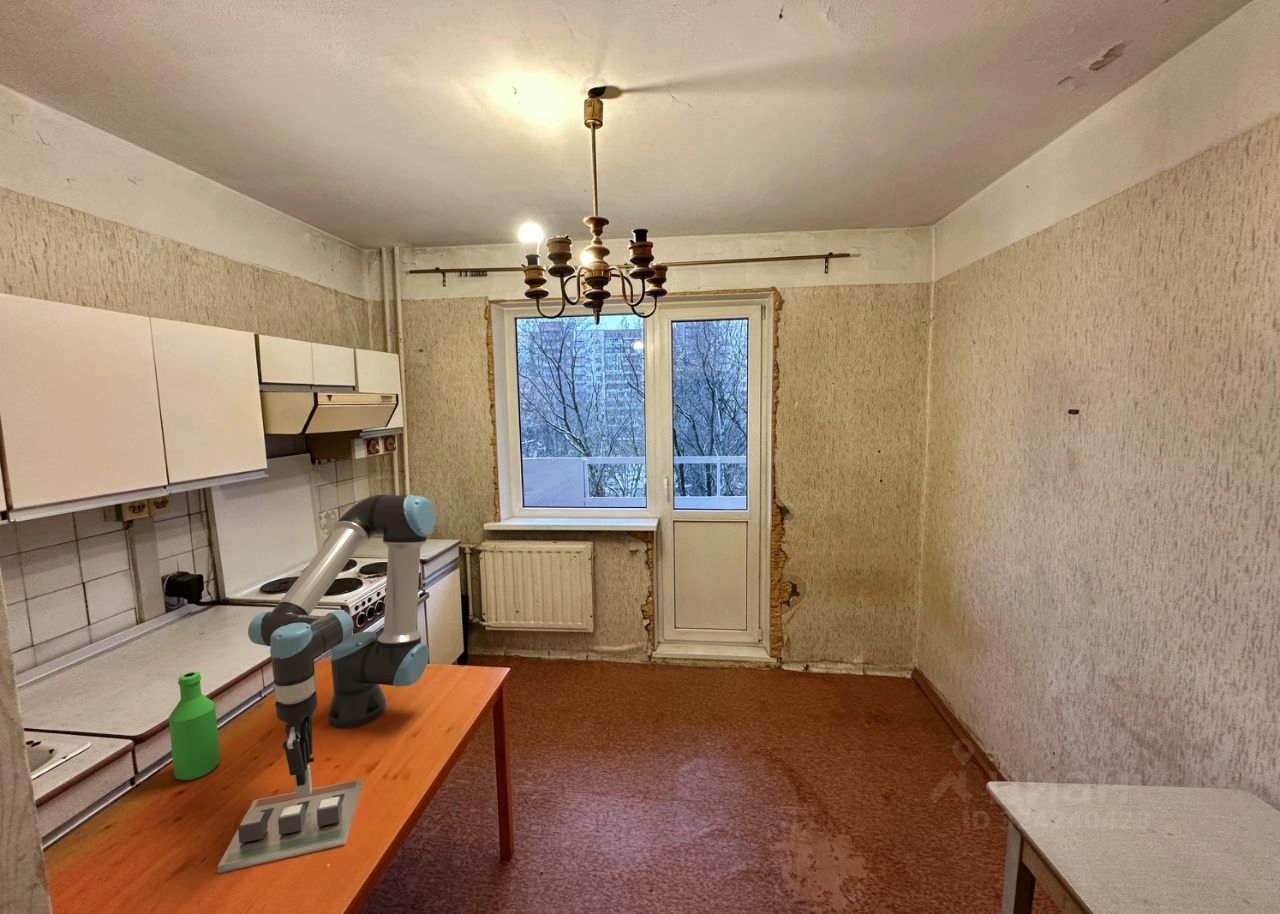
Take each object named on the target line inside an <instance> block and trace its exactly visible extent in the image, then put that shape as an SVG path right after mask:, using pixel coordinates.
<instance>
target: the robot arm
mask: <svg viewBox="0 0 1280 914" xmlns="http://www.w3.org/2000/svg"><path fill="white" fill-rule="evenodd" d="M436 523H437V516H436V509H435V508H434V505H433V504H432V502H431V501H430V500H429V499H428V498H427V497H425V496H421V495H412V494H410V495H405V494H404V495H399V494H396V495H395V494H391V495H390V494H373V495H371V496H368V497H365V498H364V499H362V500H361V501H359V502H356V503H355V504H354V505H353V506H351V507H350V508H349V509H348V510H347V511H345V513H344V514H342V516H341V517H340V518H339V519H338V521H337V522H336V523H335V525H334V527H333V529H334V532H333V533H331V536H330V537H329V538H328V539H327V541H326V542H325V543H324V545H323V546H322V547H321V548H320V550H319V551H318V552H317V554H316V555H315V556H314V558H313V559H311V561H310V562H309V564H308V565H307V566H306V568H305V569H304V570H303V571H302V572H301V574H300V575H299V577H298V578H297V579H296V580H295V582H294V583H293V584H291V585H292V586H291V587H290V588H289V589H288V590H287V592H286V593H285V595H284V596H283V597H282V598H281V600H279V602H278V603H277V604H276V606H275V607H274V608H273V610H272V611H266V612H265V611H264V612H261V613H259V614H258V615H256V616H255V617H253V619H252V620H251V621H250V623H249V624H248V625H249V626H248V630H247V635H248V638H249V640H250V641H251V643H253V644H256V645H260V646H266V647H270V650H269V653H270V656H271V666H272V674H273V675H272V677H273V683H272V685H271V689H274V697H275V698H274V699H275V713H276V714H275V715H276V718H277V719H278V720H279V721H281V722H284V723H286V725H285V727H284V728H285V734H286V735H287V736H286V737H287V738H286V739H287V740H285V741H283V743H282V748H283V750H284V751H285V755H286V761H287V765H288V771H289V772H288V773H289V775H290V776H294V785H295V786H294V787H295V792H296V798H298V797H303V796H308V795H310V794H311V792H312V789H313V785H312V784H313V783H312V773H311V763H314V761H315V757H314V756H313V757H311V756H312V754H314V753H313V715H314V714H313V713H314V712H315V711H316V709H317V708H318V697H317V691H316V690H317V685H316V684H317V683H316V682H317V681H316V671H315V670H316V669H315V660H316V659H318V658H319V657H321V656H323V654H325V653H327V652H329V651H330V652H331V656H330V662H331V663H330V665H331V677H332V686H333V687H332V688H333V689H332V690H333V691H332V692H333V694H332V697H331V700H330V703H329V707H328V711H327V721H328V724H329V725H330V726H331V727H333V728H338V729H349V728H350V729H351V728H355V727H360V726H363V725H366V724H369V723H371V722H372V721H374V720H376V719H378V718H379V717H381V715H383V714H384V713H385V711H386V710H387V709H386V708H387V699H386V696H385V694H384V692H383V690H382V687H381V685H382V686H383V685H385V686H392V687H393V686H394V687H397V688H398V687H410V686H413V685H414V684H416V683H417V682H418V681H419V680H420V679H421V677H422V675H423V674H424V672H425V671H426V668H427V665H428V662H429V658H430V650H429V647H428V645H427V644H425V643H424V642H422V634H421V632H419V630H417V619H418V601H419V596H418V595H419V584H420V583H419V579H420V564H421V563H420V561H421V560H420V559H421V548H422V546H423V545H424V544H426V542H427V537H429V536H430V535H431V534H433V533H434V529H435V528H436V525H437V524H436ZM375 535H382V543H383V544H384V545H385V546H386V547H387V548H388V549H387V550H388V551H387V564H386V565H387V566H386V582H385V583H386V584H385V598H384V599H385V600H384V617H383V618H384V619H383V621H384V623H383V631H382V633H381V634H380V635H379V636H378V637H377V635H376V633H375V632H374V631H369V630H368V631H362V632H361V631H360V632H356V633H353V631H354V626H355V625H354V620H353V618H352V616H351V615H350V614H349V613H348V612H346V611H345V610H341V609H337V610H334V611H331V612H328V613H327V614H326V615H325V614H324V615H313V614H312V612H313V611H314V609H315V608H316V607H317V606H318V604H319V602H320V601H321V600H322V598H323V597H324V595H325V594H326V593H327V591H328V590H329V588H330V587H331V586H332V584H333V583H334V582H335V580H336V579H337V577H338V576H339V575H340V574H341V572H342V571H343V569H344V568H345V566H346V565H347V563H348V562H349V561H350V559H351V558H352V556H353V555H354V554H355V553H356V551H357V550H358V548H359V547H360V546H361V545H364V544H366V543H367V542H368V541H369V539H370V538H371V537H373V536H375Z"/></svg>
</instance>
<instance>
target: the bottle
mask: <svg viewBox="0 0 1280 914" xmlns="http://www.w3.org/2000/svg"><path fill="white" fill-rule="evenodd" d="M201 680H202V676H201V673H200V672H199V671H191V672H189V671H188V672H186V673H184V674H182V675H181V676H179V678H178V681H177V685H178V686H179V692H180V693H179V694H180V700H179V701H178V703H177V704H176V706H175V708H173V710H172V712H171V713H170V714H169V716H168V724H169V735H170V744H171V745H170V746H171V747H170V748H171V755H172V768H173V775H174V776H173V777H174V778H175V779H176V780H180V781H192V780H196V779H198V778H202V777H204V776H206V775H208V774H209V773H211V772H212V771H213V770H214V769H216V767H217V766H218V765H219V764H220V761H221V757H220V755H221V754H220V743H219V742H220V741H219V731H218V730H219V729H218V721H217V713H216V712H217V711H216V704H215V702H214V701H213V700H211V699H210V698H208V697H207V696H206V695H204V694H203V693H202V688H201V686H202V685H201Z"/></svg>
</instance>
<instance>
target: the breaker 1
mask: <svg viewBox="0 0 1280 914" xmlns="http://www.w3.org/2000/svg"><path fill="white" fill-rule="evenodd" d="M267 828H268V824H267V812H260V813H255V814H250V815H246V814H245V815H244V816H243V818H242V820H241V821H240V824H239V825H238V827H237V830H238V833H239V843H244V842H248V841H253V840H258V839H262V838H263V836H264V834H265V832H266V830H267Z"/></svg>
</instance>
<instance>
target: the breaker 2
mask: <svg viewBox="0 0 1280 914" xmlns="http://www.w3.org/2000/svg"><path fill="white" fill-rule="evenodd" d="M305 820H306V818H305V805H302V804H301V805H296V806H291V807H286V808H284V809H283V810H282V812H281V814H280V816H279V819H278V826H279V835H282V834H287V833H291V832H296V831H301V830H302V827H303V825H304V822H305Z"/></svg>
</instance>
